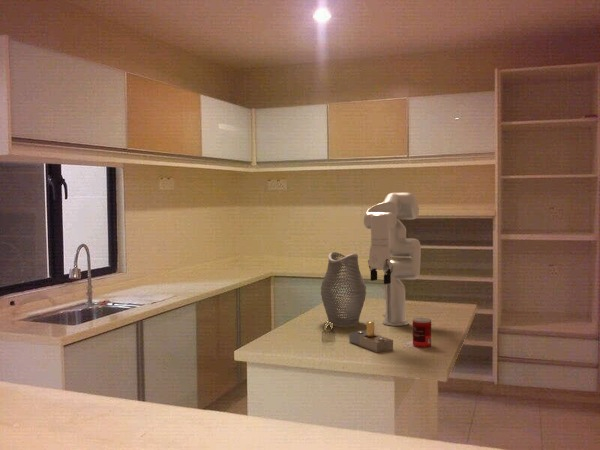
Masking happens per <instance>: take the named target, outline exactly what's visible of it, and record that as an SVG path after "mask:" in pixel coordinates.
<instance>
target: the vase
mask: <svg viewBox="0 0 600 450" xmlns="http://www.w3.org/2000/svg"><path fill="white" fill-rule="evenodd" d="M358 260H359V255H358V254H357V253H349V254H348V255H343V254H341V253H339V252H332V251H331V252H330V253H329V254H328V263H327V268H326V272H325V274H324V277H323V280H322V282H321V286H320V295H321V300H322V304H323V308H324V309H325V310H324V311H325V313H326V317H327V321H328V323H329V322H331V323H333V325H334V326H333V327H340V328H349V327H355V326H358V325H359V322H360V317H361V313H362V310H363V308H364V303H365V301H366V295H367V291H366V290H367V287H366V282H365V280H364V278H363V275H362V273H361V271H360V265H359V261H358Z"/></svg>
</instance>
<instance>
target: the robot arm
mask: <svg viewBox="0 0 600 450" xmlns="http://www.w3.org/2000/svg"><path fill="white" fill-rule="evenodd" d="M419 213H420V208H419V203H418V202H417V200H416V197H415V195H414V194H413V193H411V192H390V193H388V194H387V195H386V196H385V197H384V199H383V201H382V202H381V203H377V204H375V205H373V206H371V207H369V208H368V209H367V210H366V212H365V214H364V215H363V225H364V227H365V228H366V229H368V230H370V247H369V254H368V255H369V256H368V260H367V265H368V268H369V272H370V281H372V282H373V281H378V271H383V284H384V285H385V312H384V313H383V314H382V317H383V318H384V319H383V320H382V324H384V325H385V326H392V327H401V326H403V327H404V326H407V325H408V324H409V320H407V319H406V288H405V287H406V286H405V284H404V283H403V282H402V280H417V279H418V278H420V275H421V256H422V253H421V251H422V248H421V247H422V246H421V242H420V240H419V239H417V238H409V237H408V238H407V228H406V226H405V225H404V224H403V222H402V221H401V220H415V219H417V218H418V217H419ZM391 257H392V258H396V259H391ZM397 258H398V259H397ZM399 258H403V259H399ZM404 258H405V259H404ZM406 258H409V259H406Z"/></svg>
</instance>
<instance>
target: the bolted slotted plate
mask: <svg viewBox="0 0 600 450" xmlns="http://www.w3.org/2000/svg"><path fill="white" fill-rule="evenodd" d="M349 343H351V344H354V345H356V346H358V347H362V348H365V349H367V350H369V351H372V352H375V353H383V352H389V350H390V351H394V340H393V339H390V338H388V337H384V336H382V335H378V334H375V333H374V338H367V330H358V331H353V332H349Z"/></svg>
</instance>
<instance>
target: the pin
mask: <svg viewBox="0 0 600 450" xmlns="http://www.w3.org/2000/svg"><path fill="white" fill-rule="evenodd" d="M366 331H367V338H374V334H375V321H373V320H372V321H371V320H369V321H366Z"/></svg>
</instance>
